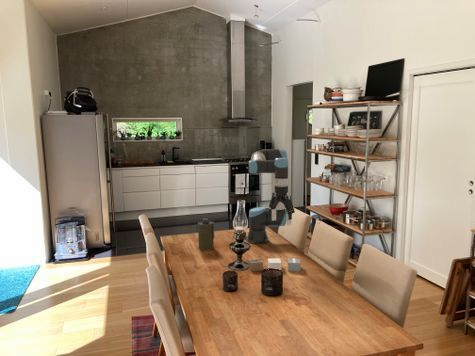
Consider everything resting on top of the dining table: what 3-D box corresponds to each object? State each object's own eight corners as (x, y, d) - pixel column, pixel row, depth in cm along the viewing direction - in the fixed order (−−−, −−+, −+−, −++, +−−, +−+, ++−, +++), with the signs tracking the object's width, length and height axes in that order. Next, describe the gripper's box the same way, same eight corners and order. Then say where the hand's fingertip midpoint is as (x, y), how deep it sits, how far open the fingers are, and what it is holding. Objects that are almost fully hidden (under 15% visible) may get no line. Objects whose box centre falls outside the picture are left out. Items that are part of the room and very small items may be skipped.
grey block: (287, 266, 222) (287, 258, 221) (300, 267, 221) (300, 258, 220) (287, 271, 215) (287, 262, 214) (300, 271, 214) (300, 262, 213)
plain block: (267, 266, 222) (267, 258, 221) (279, 266, 222) (279, 258, 221) (269, 271, 215) (269, 262, 214) (281, 271, 215) (281, 262, 215)
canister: (195, 249, 253) (195, 220, 250) (201, 244, 263) (201, 216, 260) (211, 251, 250) (210, 221, 247) (216, 246, 259) (216, 217, 257)
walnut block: (247, 266, 222) (247, 258, 221) (259, 265, 223) (259, 257, 223) (250, 271, 215) (250, 262, 215) (262, 270, 217) (262, 261, 216)
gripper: (262, 183, 222) (263, 219, 225) (290, 189, 201) (290, 228, 204) (273, 182, 226) (273, 217, 229) (301, 187, 205) (301, 226, 208)
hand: (281, 222), depth 216 cm, fingers open, 13 cm apart
